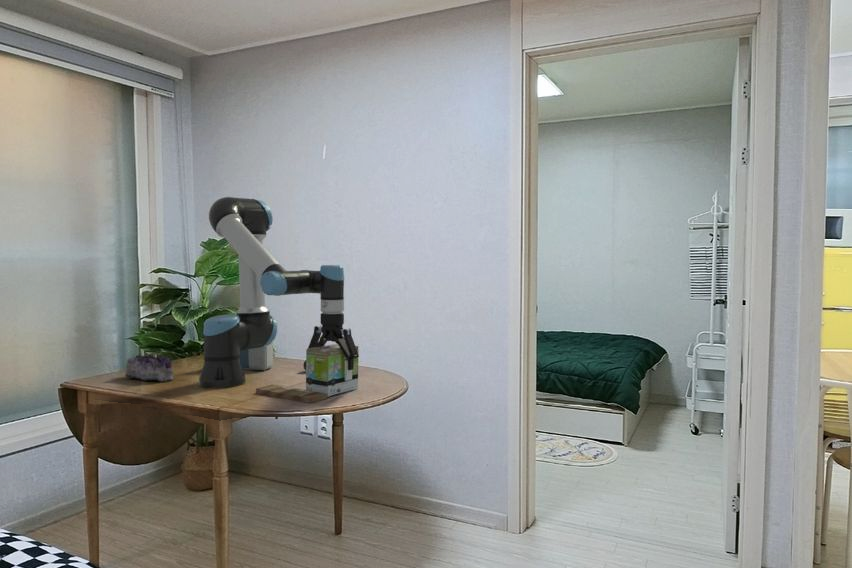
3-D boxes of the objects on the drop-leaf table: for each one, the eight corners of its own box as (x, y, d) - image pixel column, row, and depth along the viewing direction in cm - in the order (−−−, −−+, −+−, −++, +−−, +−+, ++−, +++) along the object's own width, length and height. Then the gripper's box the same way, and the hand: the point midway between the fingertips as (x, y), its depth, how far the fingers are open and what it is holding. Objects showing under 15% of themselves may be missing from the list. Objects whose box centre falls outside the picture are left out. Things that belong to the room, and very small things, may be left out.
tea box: (328, 398, 185) (328, 350, 184) (305, 394, 190) (304, 348, 189) (359, 388, 197) (359, 344, 197) (336, 385, 203) (336, 342, 202)
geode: (187, 378, 216) (184, 351, 214) (160, 388, 205) (157, 361, 204) (147, 371, 224) (144, 345, 222) (120, 381, 214) (117, 354, 212)
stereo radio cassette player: (216, 369, 231) (215, 318, 230) (228, 365, 239) (227, 316, 238) (265, 371, 226) (264, 319, 226) (275, 367, 234) (275, 317, 234)
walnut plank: (256, 393, 191) (255, 388, 191) (272, 389, 197) (272, 384, 197) (310, 403, 178) (310, 397, 178) (326, 398, 184) (326, 393, 184)
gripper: (296, 311, 196) (296, 374, 197) (354, 316, 183) (354, 384, 184) (312, 309, 202) (312, 371, 204) (369, 313, 189) (369, 379, 190)
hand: (332, 377), depth 194 cm, fingers open, 13 cm apart
